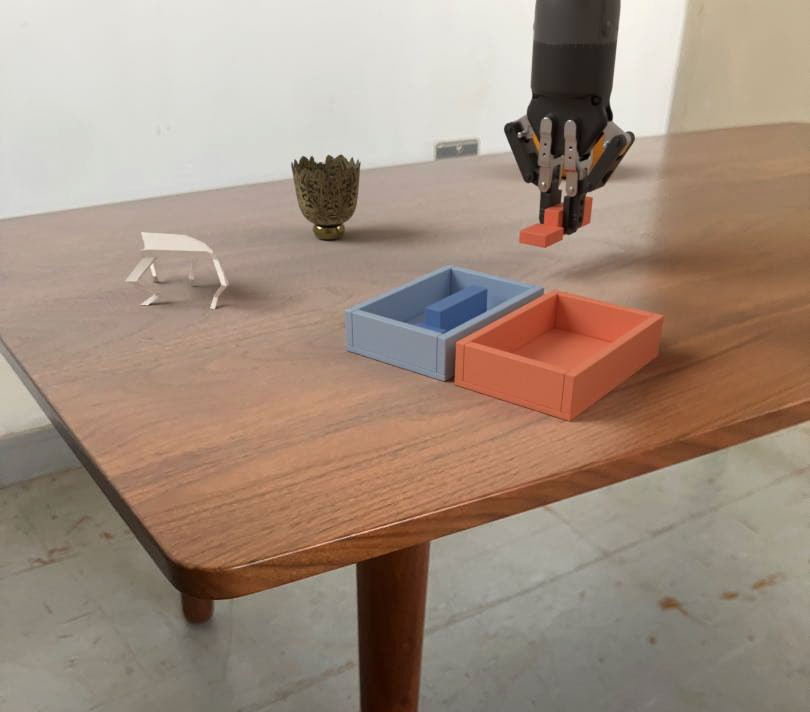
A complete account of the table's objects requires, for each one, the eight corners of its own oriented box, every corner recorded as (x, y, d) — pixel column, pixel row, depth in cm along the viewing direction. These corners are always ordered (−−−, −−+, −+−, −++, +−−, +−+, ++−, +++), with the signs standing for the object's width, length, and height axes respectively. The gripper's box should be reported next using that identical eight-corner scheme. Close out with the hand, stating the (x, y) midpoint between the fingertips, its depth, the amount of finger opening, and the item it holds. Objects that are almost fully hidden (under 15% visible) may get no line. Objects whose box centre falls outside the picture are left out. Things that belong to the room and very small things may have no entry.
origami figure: (103, 303, 85) (93, 250, 83) (156, 275, 92) (148, 225, 89) (214, 321, 82) (207, 266, 79) (261, 291, 88) (256, 239, 85)
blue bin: (541, 325, 81) (544, 286, 79) (444, 381, 71) (445, 339, 69) (447, 301, 86) (448, 264, 84) (345, 350, 76) (344, 309, 74)
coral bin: (657, 356, 75) (664, 315, 73) (569, 421, 66) (575, 376, 64) (550, 328, 80) (554, 289, 78) (454, 384, 71) (455, 341, 69)
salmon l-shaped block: (570, 219, 96) (573, 194, 95) (596, 224, 95) (599, 198, 93) (518, 243, 89) (520, 215, 88) (545, 248, 88) (547, 220, 86)
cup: (358, 225, 106) (356, 152, 102) (367, 244, 100) (365, 167, 96) (293, 229, 105) (288, 154, 101) (298, 248, 99) (293, 170, 95)
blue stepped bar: (465, 311, 82) (466, 283, 81) (493, 318, 81) (494, 290, 79) (393, 347, 75) (392, 317, 74) (422, 356, 74) (422, 325, 72)
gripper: (664, 35, 81) (639, 233, 91) (531, 28, 88) (521, 212, 98) (626, 43, 77) (603, 252, 86) (488, 35, 84) (482, 229, 93)
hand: (559, 230), depth 92 cm, fingers closed on salmon l-shaped block, 1 cm apart
